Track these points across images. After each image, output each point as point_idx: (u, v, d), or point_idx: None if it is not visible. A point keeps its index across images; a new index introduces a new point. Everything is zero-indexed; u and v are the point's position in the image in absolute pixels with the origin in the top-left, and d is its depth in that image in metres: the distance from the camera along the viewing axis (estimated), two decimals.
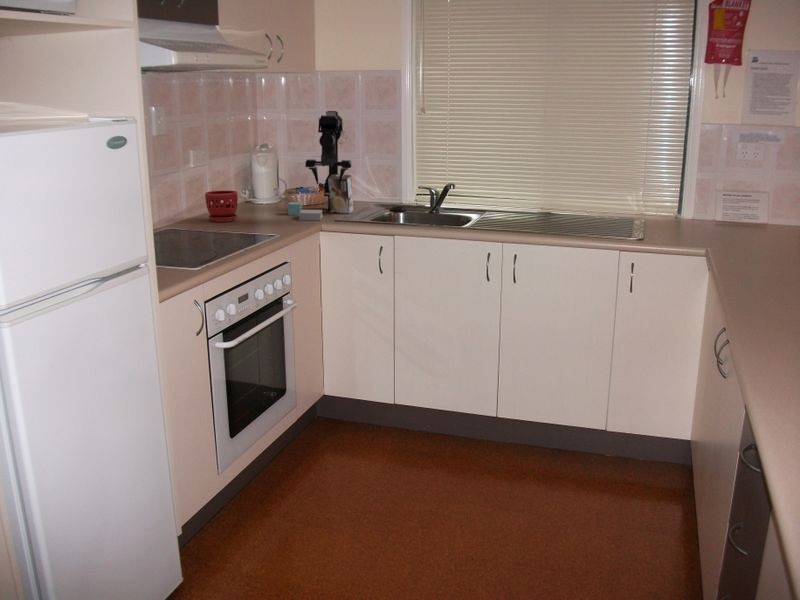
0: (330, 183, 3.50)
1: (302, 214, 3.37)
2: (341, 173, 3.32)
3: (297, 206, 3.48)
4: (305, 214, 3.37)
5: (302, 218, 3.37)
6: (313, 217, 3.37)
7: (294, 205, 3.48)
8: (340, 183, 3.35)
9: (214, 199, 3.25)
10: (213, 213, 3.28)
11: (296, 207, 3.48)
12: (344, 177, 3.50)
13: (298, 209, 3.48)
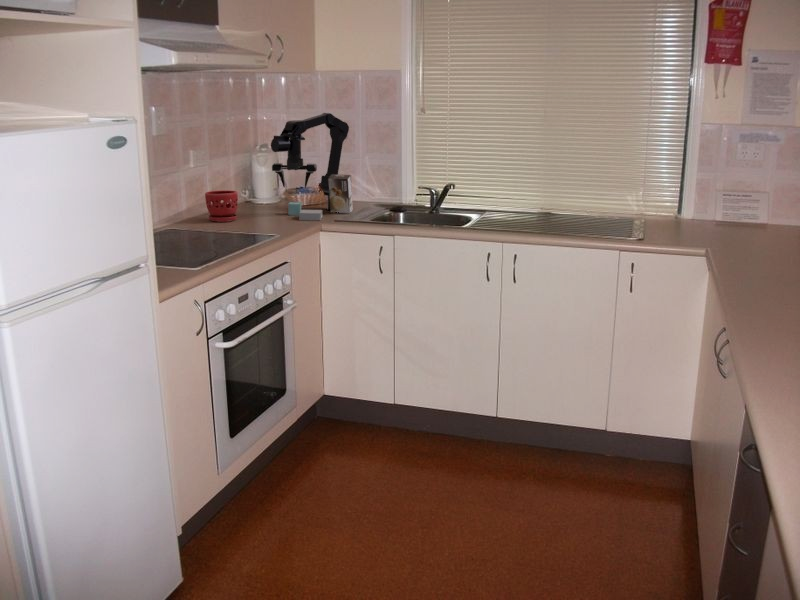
0: (330, 183, 3.50)
1: (302, 214, 3.37)
2: (306, 176, 3.45)
3: (297, 206, 3.48)
4: (305, 214, 3.37)
5: (302, 218, 3.37)
6: (313, 217, 3.37)
7: (294, 205, 3.48)
8: None
9: (214, 199, 3.25)
10: (213, 213, 3.28)
11: (296, 207, 3.48)
12: (344, 177, 3.50)
13: (298, 209, 3.48)
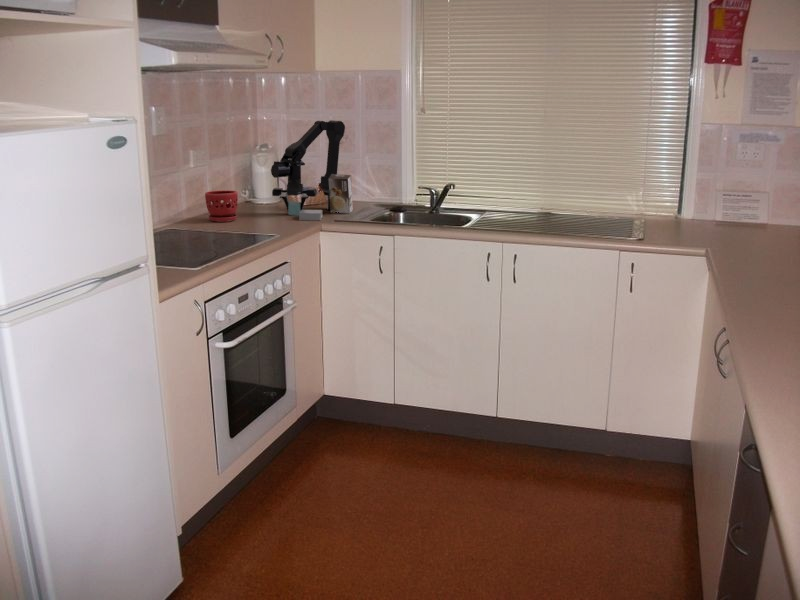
0: (330, 183, 3.50)
1: (302, 214, 3.37)
2: (302, 201, 3.48)
3: (297, 206, 3.48)
4: (305, 214, 3.37)
5: (302, 218, 3.37)
6: (313, 217, 3.37)
7: (294, 205, 3.48)
8: None
9: (214, 199, 3.25)
10: (213, 213, 3.28)
11: (296, 207, 3.48)
12: (344, 177, 3.50)
13: (298, 209, 3.48)
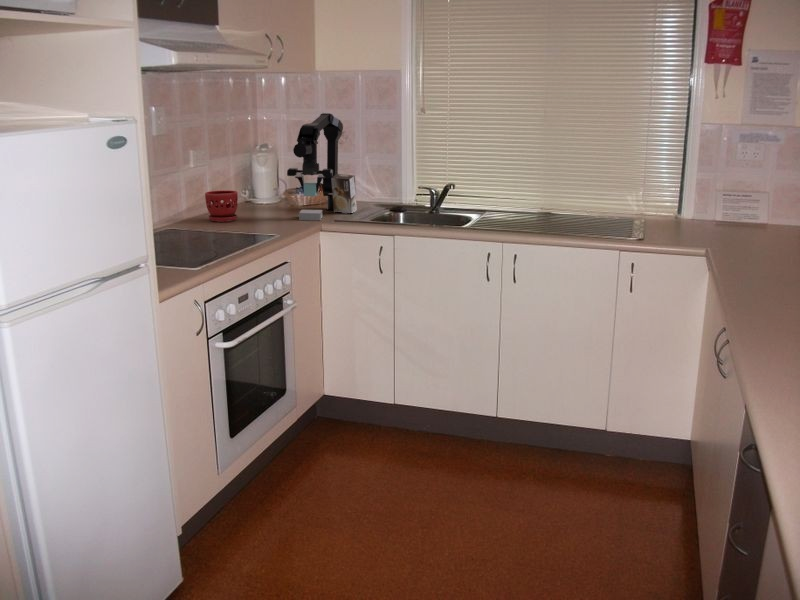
0: (333, 182, 3.51)
1: (302, 214, 3.37)
2: (318, 182, 3.36)
3: (313, 186, 3.36)
4: (305, 214, 3.37)
5: (302, 218, 3.37)
6: (313, 217, 3.37)
7: (310, 185, 3.36)
8: (317, 191, 3.39)
9: (214, 199, 3.25)
10: (213, 213, 3.28)
11: (312, 187, 3.36)
12: (347, 177, 3.50)
13: (314, 189, 3.36)
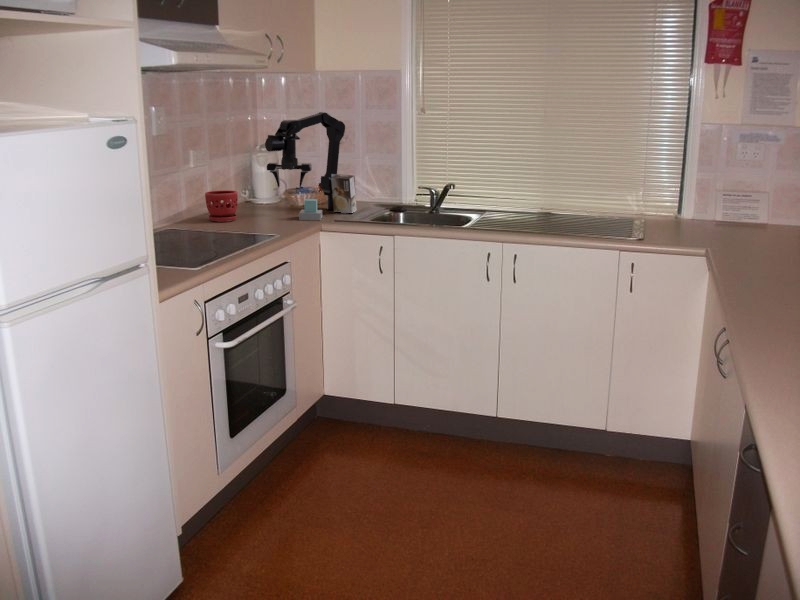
0: (333, 182, 3.51)
1: (302, 214, 3.37)
2: (301, 176, 3.44)
3: (313, 203, 3.37)
4: (305, 214, 3.37)
5: (302, 218, 3.37)
6: (313, 217, 3.37)
7: (310, 202, 3.37)
8: None
9: (214, 199, 3.25)
10: (213, 213, 3.28)
11: (312, 204, 3.38)
12: (347, 177, 3.50)
13: (314, 206, 3.38)
